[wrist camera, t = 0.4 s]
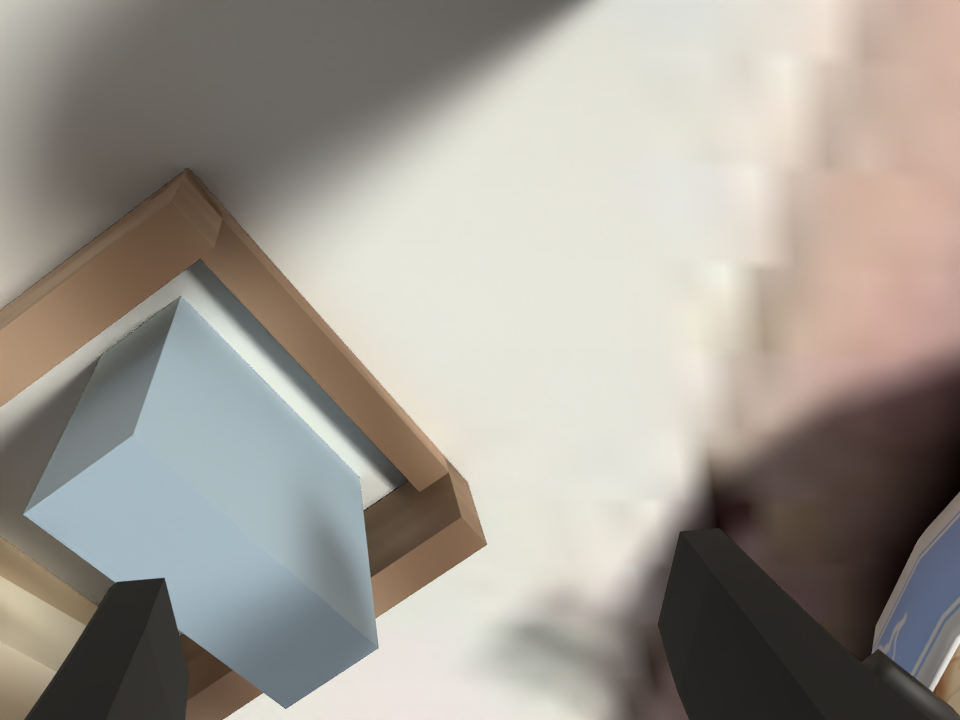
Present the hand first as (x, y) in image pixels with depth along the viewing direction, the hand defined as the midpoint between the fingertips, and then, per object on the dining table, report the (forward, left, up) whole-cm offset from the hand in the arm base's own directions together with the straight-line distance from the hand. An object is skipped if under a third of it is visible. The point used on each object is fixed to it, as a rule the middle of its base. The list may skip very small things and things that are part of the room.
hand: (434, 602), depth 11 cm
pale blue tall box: (-5, 0, -10) cm, 11 cm away
